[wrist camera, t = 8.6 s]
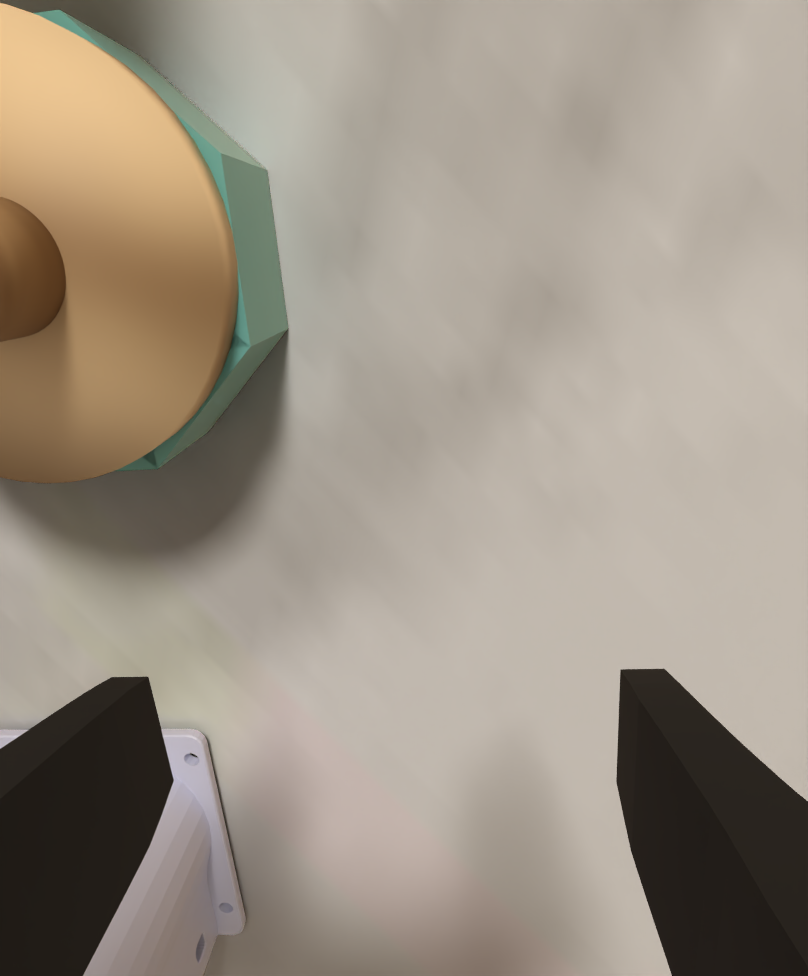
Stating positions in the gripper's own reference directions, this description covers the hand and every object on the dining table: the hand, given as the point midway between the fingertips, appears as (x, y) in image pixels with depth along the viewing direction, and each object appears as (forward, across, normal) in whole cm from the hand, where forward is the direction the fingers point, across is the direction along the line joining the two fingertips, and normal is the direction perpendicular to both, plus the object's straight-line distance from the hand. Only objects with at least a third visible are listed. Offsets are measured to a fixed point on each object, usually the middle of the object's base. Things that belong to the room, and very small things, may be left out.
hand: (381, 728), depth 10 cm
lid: (+6, +8, -7) cm, 13 cm away
